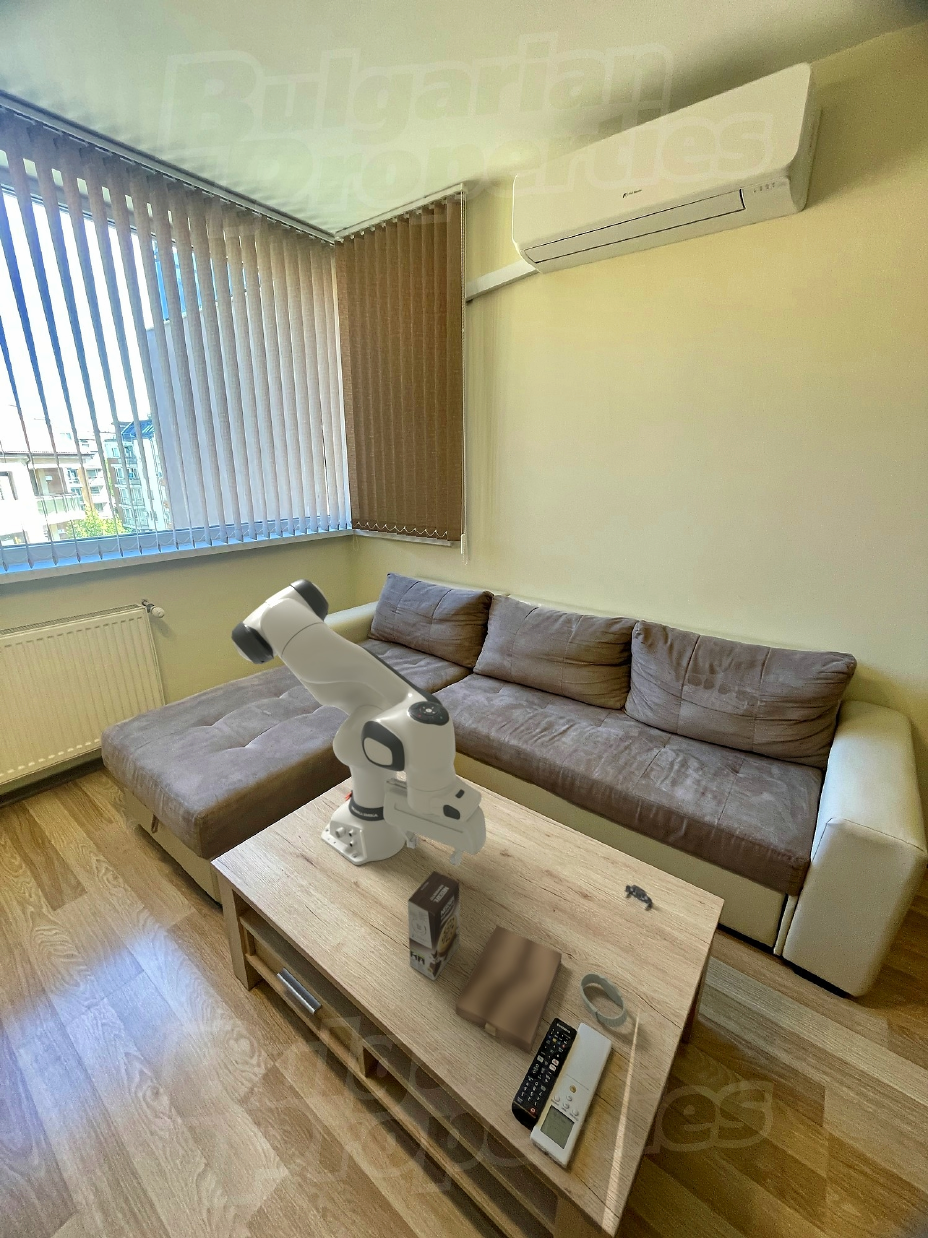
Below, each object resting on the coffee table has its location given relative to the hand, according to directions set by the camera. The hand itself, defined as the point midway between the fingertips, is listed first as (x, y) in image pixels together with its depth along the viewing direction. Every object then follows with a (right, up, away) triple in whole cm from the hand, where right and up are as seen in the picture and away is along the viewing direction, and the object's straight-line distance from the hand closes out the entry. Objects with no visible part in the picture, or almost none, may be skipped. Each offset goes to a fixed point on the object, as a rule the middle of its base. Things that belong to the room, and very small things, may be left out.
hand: (433, 854), depth 92 cm
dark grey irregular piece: (+48, -22, +17) cm, 55 cm away
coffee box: (0, -24, +7) cm, 25 cm away
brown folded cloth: (+15, -26, +1) cm, 30 cm away
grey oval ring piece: (+31, -27, -2) cm, 41 cm away
